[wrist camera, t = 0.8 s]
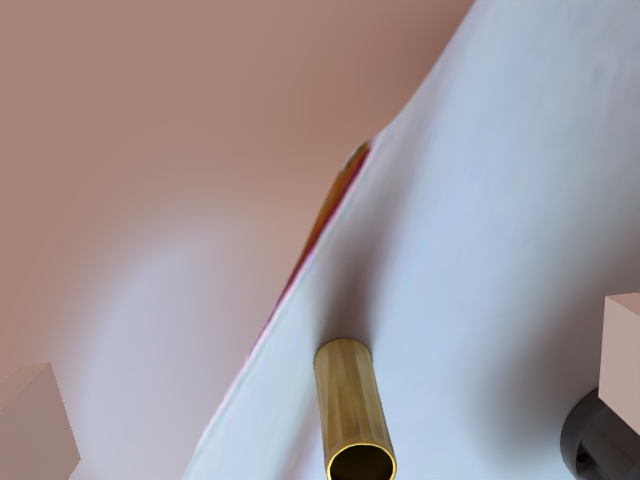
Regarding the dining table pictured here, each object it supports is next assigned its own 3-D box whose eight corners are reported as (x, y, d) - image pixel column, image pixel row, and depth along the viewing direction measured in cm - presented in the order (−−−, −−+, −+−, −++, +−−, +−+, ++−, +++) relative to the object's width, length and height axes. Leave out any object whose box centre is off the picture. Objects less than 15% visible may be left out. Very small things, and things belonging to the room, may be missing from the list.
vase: (308, 343, 45) (312, 445, 31) (367, 332, 45) (397, 429, 31) (319, 394, 46) (328, 511, 33) (376, 383, 46) (408, 496, 33)
